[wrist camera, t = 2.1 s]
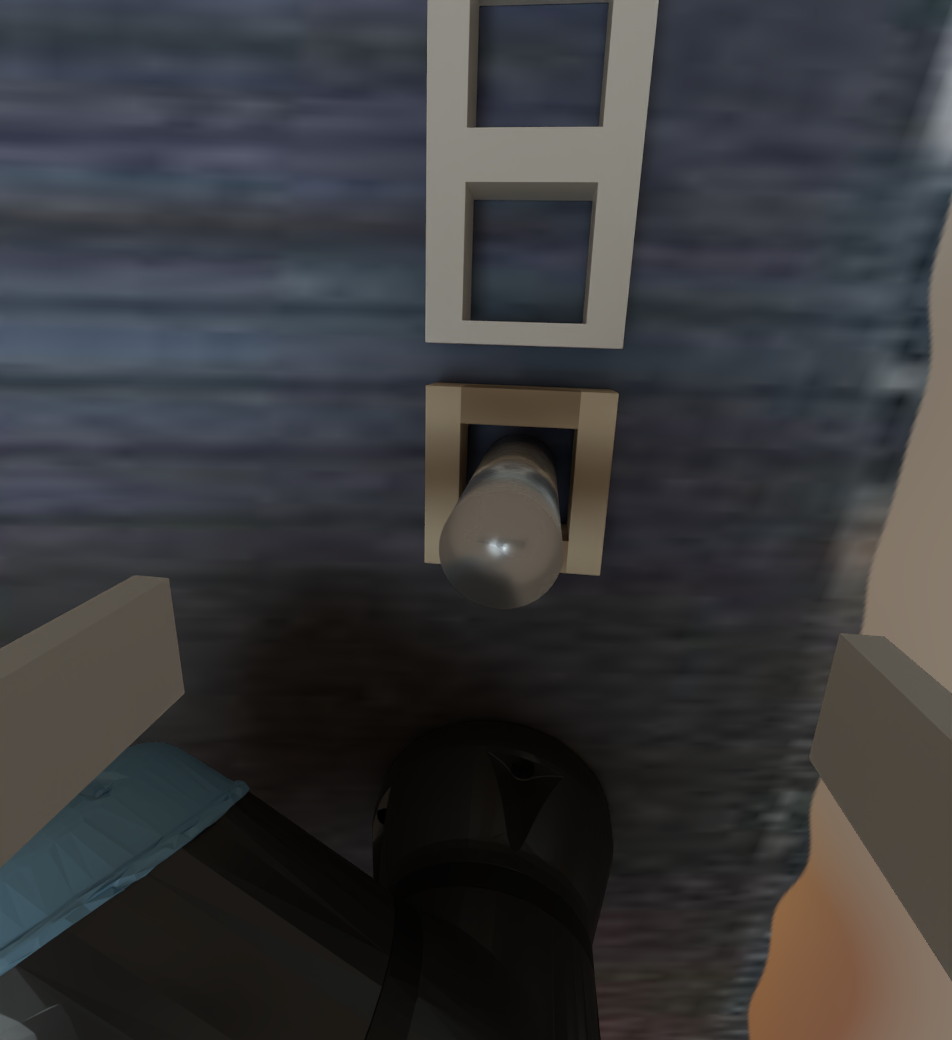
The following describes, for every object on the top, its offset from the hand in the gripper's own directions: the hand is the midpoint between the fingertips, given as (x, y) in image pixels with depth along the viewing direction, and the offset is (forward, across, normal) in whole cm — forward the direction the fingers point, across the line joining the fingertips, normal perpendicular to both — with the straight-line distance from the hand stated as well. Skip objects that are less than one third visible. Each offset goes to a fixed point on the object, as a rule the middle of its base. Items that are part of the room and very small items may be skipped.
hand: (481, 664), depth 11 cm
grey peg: (+20, 0, 0) cm, 20 cm away
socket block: (+20, 0, 0) cm, 20 cm away
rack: (+20, 0, -14) cm, 24 cm away
